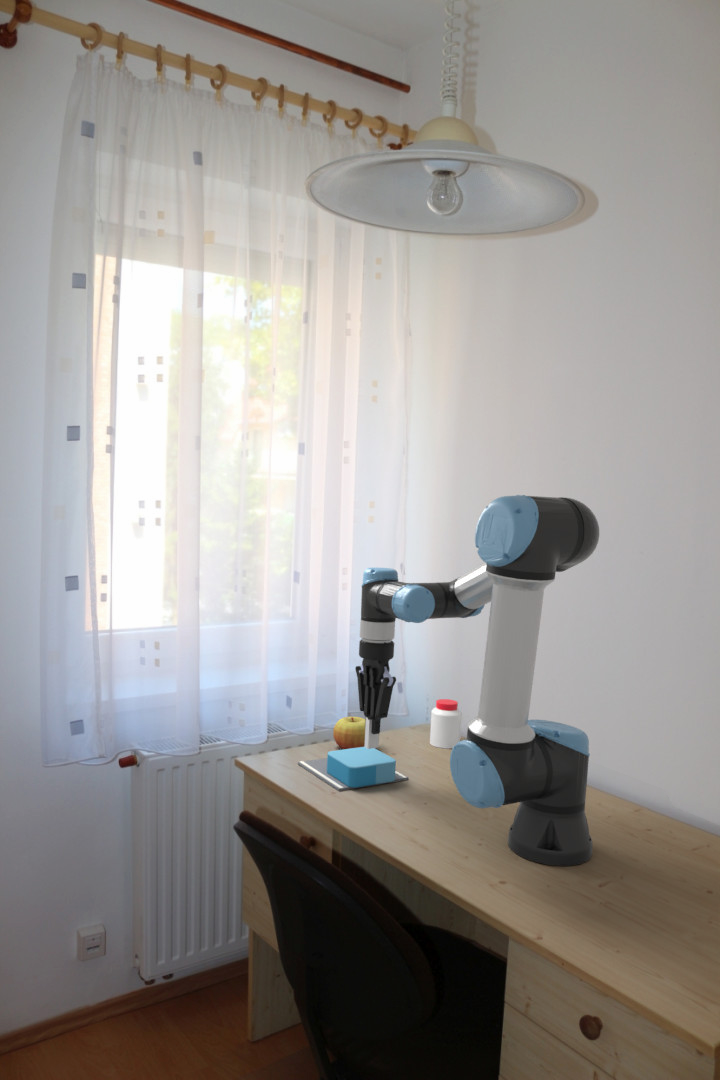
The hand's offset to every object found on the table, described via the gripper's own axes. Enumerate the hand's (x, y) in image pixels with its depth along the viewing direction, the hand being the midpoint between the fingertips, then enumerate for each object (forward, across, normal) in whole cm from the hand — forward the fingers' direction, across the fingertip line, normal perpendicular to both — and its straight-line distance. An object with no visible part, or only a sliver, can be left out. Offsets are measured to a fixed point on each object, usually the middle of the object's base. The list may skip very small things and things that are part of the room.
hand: (371, 747), depth 187 cm
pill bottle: (+9, +18, -34) cm, 40 cm away
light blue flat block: (+6, -2, 0) cm, 6 cm away
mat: (+9, +9, -1) cm, 13 cm away
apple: (+9, +24, -10) cm, 28 cm away
